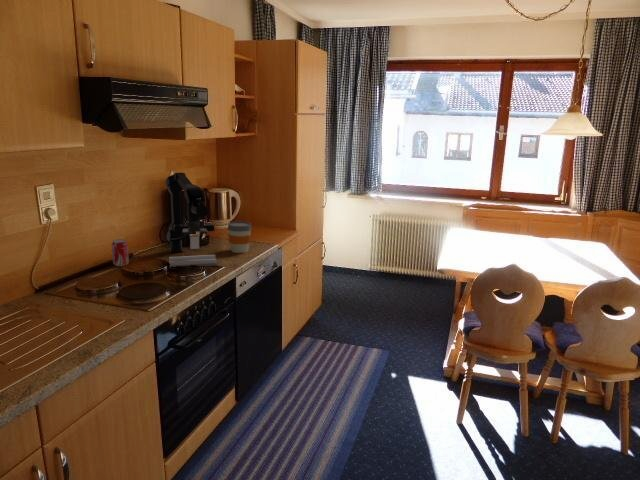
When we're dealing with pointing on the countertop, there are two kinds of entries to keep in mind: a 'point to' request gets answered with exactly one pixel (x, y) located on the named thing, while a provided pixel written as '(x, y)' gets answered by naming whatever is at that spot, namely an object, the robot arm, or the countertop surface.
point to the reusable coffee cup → (239, 236)
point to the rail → (193, 260)
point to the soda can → (120, 252)
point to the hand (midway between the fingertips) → (194, 244)
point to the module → (194, 241)
